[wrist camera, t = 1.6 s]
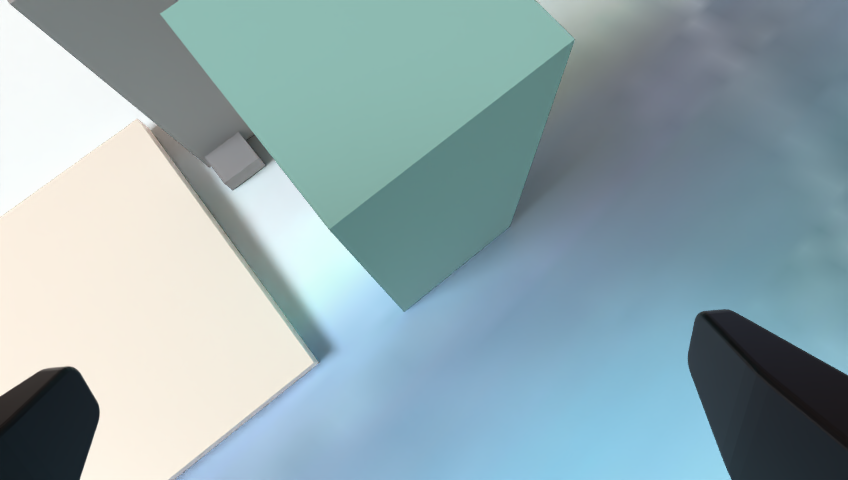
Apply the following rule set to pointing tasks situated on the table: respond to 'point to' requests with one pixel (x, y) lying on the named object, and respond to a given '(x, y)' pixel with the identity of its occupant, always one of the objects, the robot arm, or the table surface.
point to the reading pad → (141, 310)
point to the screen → (151, 75)
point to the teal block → (390, 115)
